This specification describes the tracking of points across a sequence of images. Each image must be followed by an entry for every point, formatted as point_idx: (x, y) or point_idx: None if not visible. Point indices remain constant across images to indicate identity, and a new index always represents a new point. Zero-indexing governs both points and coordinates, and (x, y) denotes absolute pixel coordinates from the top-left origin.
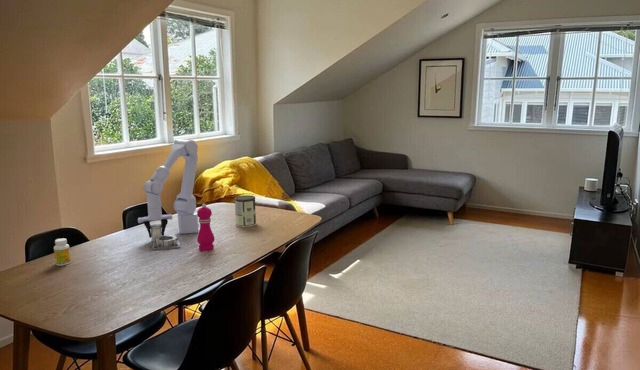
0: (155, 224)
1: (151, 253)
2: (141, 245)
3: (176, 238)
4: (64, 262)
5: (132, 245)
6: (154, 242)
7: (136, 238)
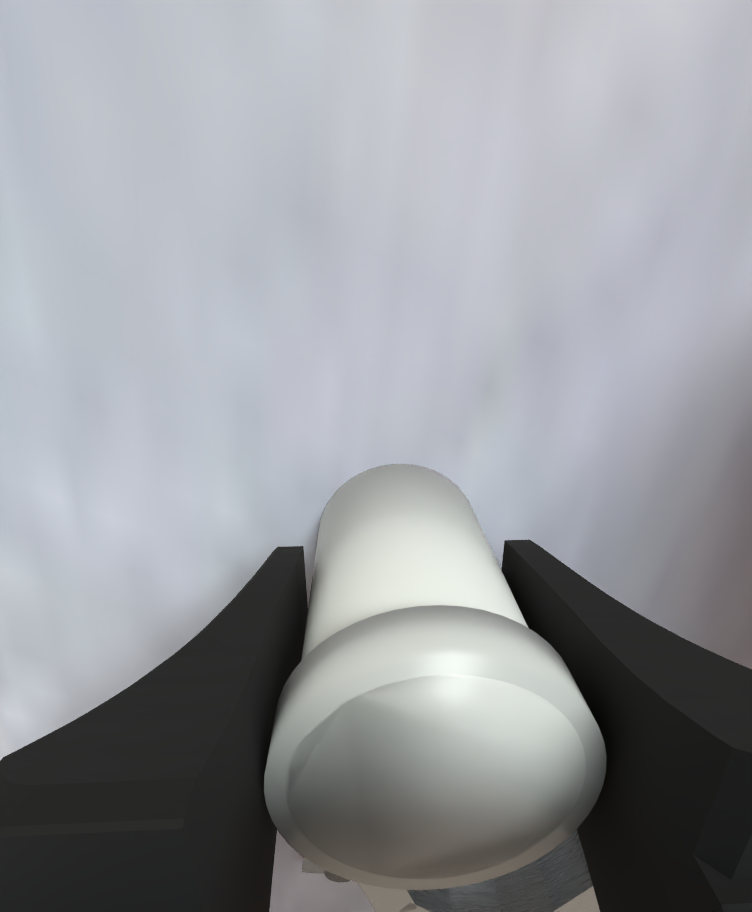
0: (447, 697)
1: (285, 908)
2: None
3: None
4: None
5: (35, 626)
6: None
7: (32, 254)
